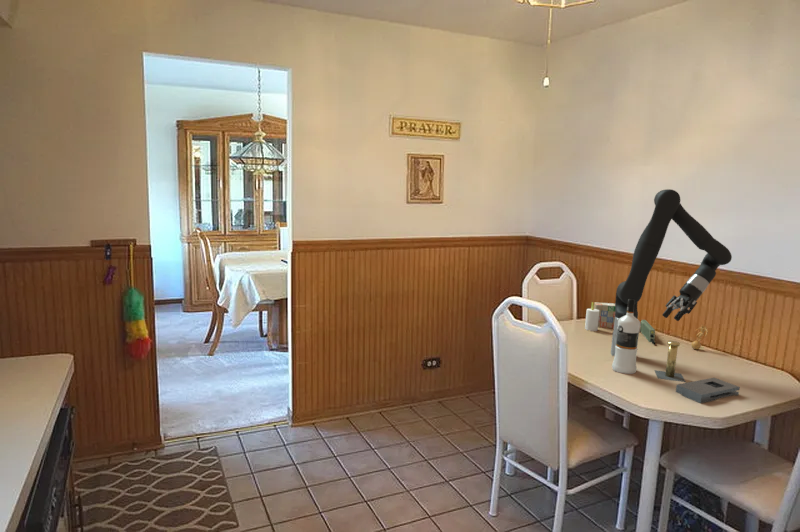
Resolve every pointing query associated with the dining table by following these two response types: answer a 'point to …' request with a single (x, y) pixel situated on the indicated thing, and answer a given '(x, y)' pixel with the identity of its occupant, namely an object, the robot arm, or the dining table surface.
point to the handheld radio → (647, 331)
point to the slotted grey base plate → (707, 390)
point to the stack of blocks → (605, 314)
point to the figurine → (696, 343)
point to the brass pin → (671, 358)
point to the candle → (592, 319)
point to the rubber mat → (676, 377)
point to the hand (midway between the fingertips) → (670, 318)
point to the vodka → (627, 342)
